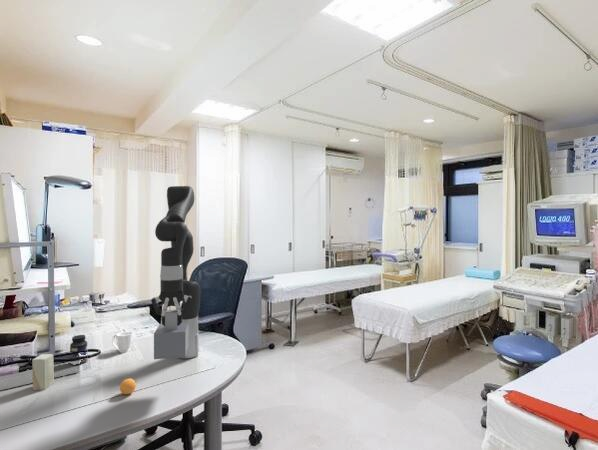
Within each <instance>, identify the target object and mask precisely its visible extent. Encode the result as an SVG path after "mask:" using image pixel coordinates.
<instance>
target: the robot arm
mask: <svg viewBox="0 0 598 450" xmlns="http://www.w3.org/2000/svg"><path fill="white" fill-rule="evenodd" d="M166 200H167V207H168V210H167V213H166V215H165V216H164V217H163V218H162V219H160V221H159V222H158V223H157V224H156V226H155V230H154V232H155V233H154V234H155V236H156V239H157V240H158V241H160V242H170V245H171V246H170V247H167V248H164V249H162V250H161V252H160V256H161V257H160V264H161V266H160V274H159V275H160V276H159V277H160V280H159V281H160V287H159V289H160V292H159V295H158V296H156V297H152V299H150V300H151V301H150V302H151V304H152V307H153V309H154V312H155V315H157V316H160V317H161V324H162V325H164V327H165V312H166V311H167V310H168V308H169V307H175V310H177V313H178V326H180V324H181V323H188V349H187V353H186V357H178V358H177V359H181V360H183V359H185V360H187V359H191V358H195V357H198V356H199V350H200V347H199V343H200V341H199V340H200V339H199V338H200V337H199V334H200V333H199V312H200V307H201V293H202V292H201V287H200V284H199V282H197V281H193V280H188V276H187V275H188V271H187V269H188V265H189V263H190V262H191V259H192V257H193V254H194V248H195V247H194V236H193V235H192V232H191V230H189V228H188V226H187V224H186V223H185V222H186V218H187V215H188V214H189V212H190V210H191V209H192V207H193V206H194V203H195V192H194V189H193V187H191V186H190V185H189V186H188V185H184V186H183V185H180V186H177V185H176V186H174V185H173V186H168V188H167V190H166ZM159 302H161V303H162V304H163V307H162V310H161V307H160V304H159ZM181 302H183V308H182V306H181Z"/></svg>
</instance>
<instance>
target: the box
mask: <svg viewBox="0 0 598 450" xmlns="http://www.w3.org/2000/svg"><path fill="white" fill-rule="evenodd" d="M31 360H32V362H31V363H32V365H31V366H32V390H33V391H43V390H44V391H45V390H47V389H48V388H49V387H51V386H52V385H53V384H55V375H54V374H55V372H54V371H55V368H54V363H55V362H54V353H41V354H40V355H38V356H36V357H34V358H33V359H31Z"/></svg>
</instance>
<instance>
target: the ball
mask: <svg viewBox="0 0 598 450" xmlns="http://www.w3.org/2000/svg"><path fill="white" fill-rule="evenodd" d="M136 386H137V384H136V381H135V380H134V379H133V378H126V379H123V381H121V383H120V384H119V391H120V393H121V394H123V395H130V394H131V393H133V392H134V391H135V389H136Z"/></svg>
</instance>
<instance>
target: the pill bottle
mask: <svg viewBox="0 0 598 450" xmlns="http://www.w3.org/2000/svg"><path fill="white" fill-rule="evenodd" d="M71 339H72V340H71V341H72V342H71V343H70V344H69V345H70V346H69V353H70V352H77V351H86V350H87V352H82V353H80V354H81V355H86V354H87V355H88V341H87V340H86V335H85V334H78V335H77V334H76V335H74V336H72V338H71ZM87 361H88V358H87V359H83V360H81V362H80V363H81V364H80V365H83V364H84V363H86V362H87Z"/></svg>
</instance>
